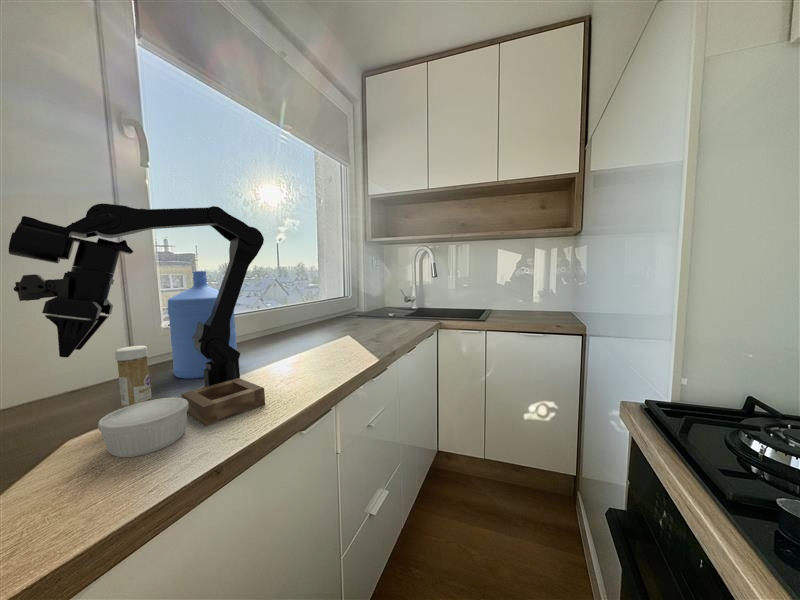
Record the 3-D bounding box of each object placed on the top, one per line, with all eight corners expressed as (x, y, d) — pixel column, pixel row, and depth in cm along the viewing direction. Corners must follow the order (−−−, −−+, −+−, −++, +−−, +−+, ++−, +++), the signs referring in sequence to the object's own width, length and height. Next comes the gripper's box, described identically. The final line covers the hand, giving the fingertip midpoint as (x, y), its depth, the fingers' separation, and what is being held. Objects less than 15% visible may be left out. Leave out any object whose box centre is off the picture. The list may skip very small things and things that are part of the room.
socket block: (239, 393, 70) (238, 377, 69) (265, 404, 63) (264, 387, 63) (182, 410, 61) (181, 393, 61) (205, 426, 54) (203, 407, 54)
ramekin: (127, 431, 54) (124, 401, 53) (200, 421, 57) (198, 393, 56) (81, 469, 43) (77, 433, 43) (175, 454, 46) (171, 420, 46)
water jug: (250, 366, 91) (243, 270, 89) (191, 383, 77) (181, 270, 75) (220, 360, 99) (213, 272, 97) (162, 374, 86) (153, 272, 83)
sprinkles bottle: (152, 418, 58) (145, 347, 57) (120, 425, 56) (112, 351, 55) (155, 409, 62) (148, 343, 61) (124, 416, 60) (117, 347, 58)
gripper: (47, 263, 61) (23, 341, 60) (8, 252, 46) (-25, 357, 45) (121, 276, 68) (102, 347, 66) (108, 271, 53) (82, 363, 51)
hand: (70, 353), depth 57 cm, fingers open, 9 cm apart
